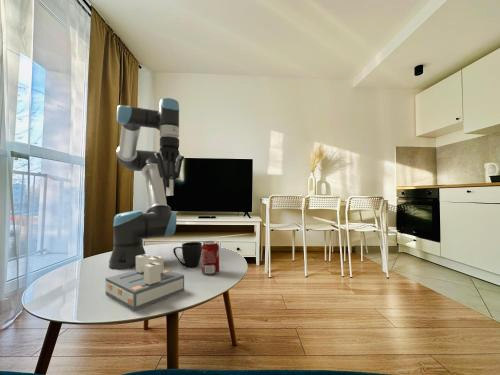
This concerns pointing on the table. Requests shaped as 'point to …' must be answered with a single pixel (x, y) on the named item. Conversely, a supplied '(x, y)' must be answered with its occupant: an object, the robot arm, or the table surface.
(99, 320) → the table surface
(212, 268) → the soda can
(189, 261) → the mug
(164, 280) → the console
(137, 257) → the block
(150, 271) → the slider near
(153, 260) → the slider mid
